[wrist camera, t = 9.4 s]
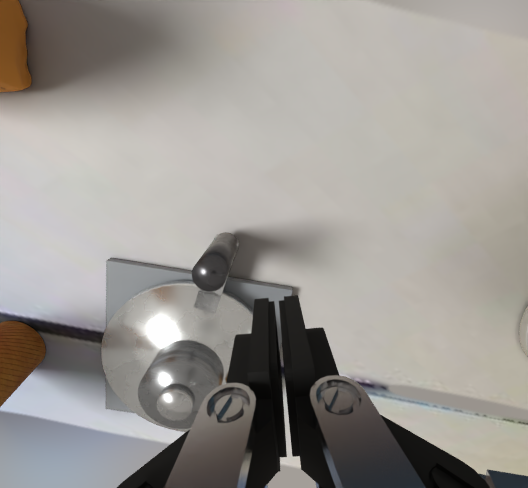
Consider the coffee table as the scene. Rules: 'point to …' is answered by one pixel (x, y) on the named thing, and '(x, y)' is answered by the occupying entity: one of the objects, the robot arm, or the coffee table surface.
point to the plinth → (146, 275)
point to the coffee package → (13, 47)
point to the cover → (179, 382)
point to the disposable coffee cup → (18, 355)
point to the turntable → (175, 322)
